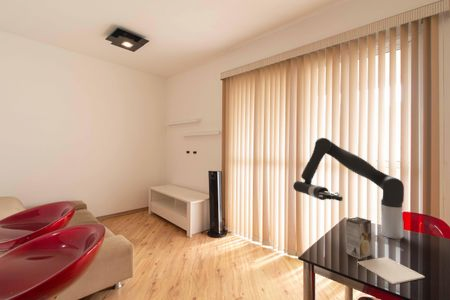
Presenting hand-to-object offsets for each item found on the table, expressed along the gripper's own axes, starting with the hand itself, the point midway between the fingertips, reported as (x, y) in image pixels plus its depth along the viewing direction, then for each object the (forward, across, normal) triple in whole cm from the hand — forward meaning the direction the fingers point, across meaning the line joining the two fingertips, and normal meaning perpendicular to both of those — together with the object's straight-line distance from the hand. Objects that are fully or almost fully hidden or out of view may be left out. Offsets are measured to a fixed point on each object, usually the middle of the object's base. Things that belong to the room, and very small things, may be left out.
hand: (341, 198), depth 105 cm
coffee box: (+10, 0, +24) cm, 26 cm away
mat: (+23, +1, +23) cm, 33 cm away
